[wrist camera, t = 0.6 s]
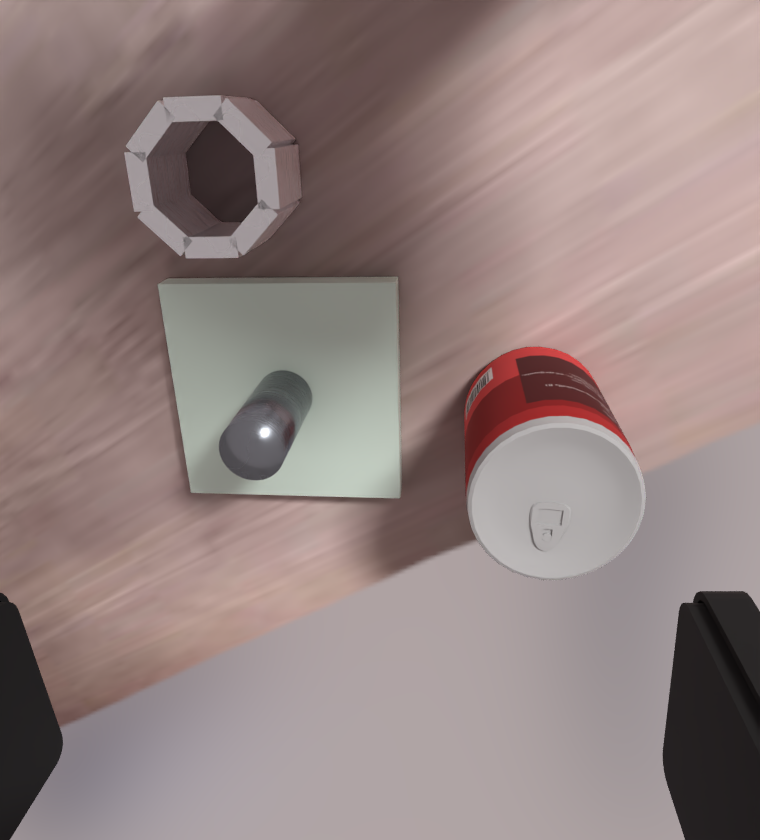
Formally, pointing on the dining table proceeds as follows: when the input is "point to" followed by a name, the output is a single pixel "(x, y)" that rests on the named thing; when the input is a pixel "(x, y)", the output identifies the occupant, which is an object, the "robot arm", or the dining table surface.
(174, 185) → the metal ring
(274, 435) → the steel post
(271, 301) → the green board
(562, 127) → the dining table surface
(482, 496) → the canned food
